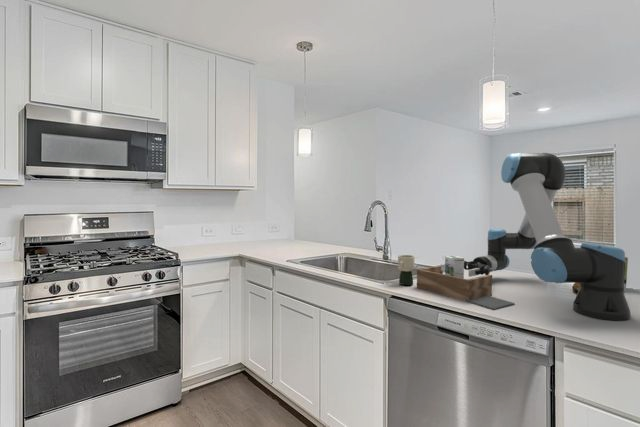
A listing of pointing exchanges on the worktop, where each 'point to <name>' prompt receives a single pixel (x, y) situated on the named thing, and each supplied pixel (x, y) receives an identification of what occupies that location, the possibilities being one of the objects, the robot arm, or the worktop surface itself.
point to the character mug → (406, 269)
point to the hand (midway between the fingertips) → (454, 270)
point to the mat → (490, 302)
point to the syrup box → (454, 266)
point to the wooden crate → (453, 284)
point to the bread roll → (576, 287)
